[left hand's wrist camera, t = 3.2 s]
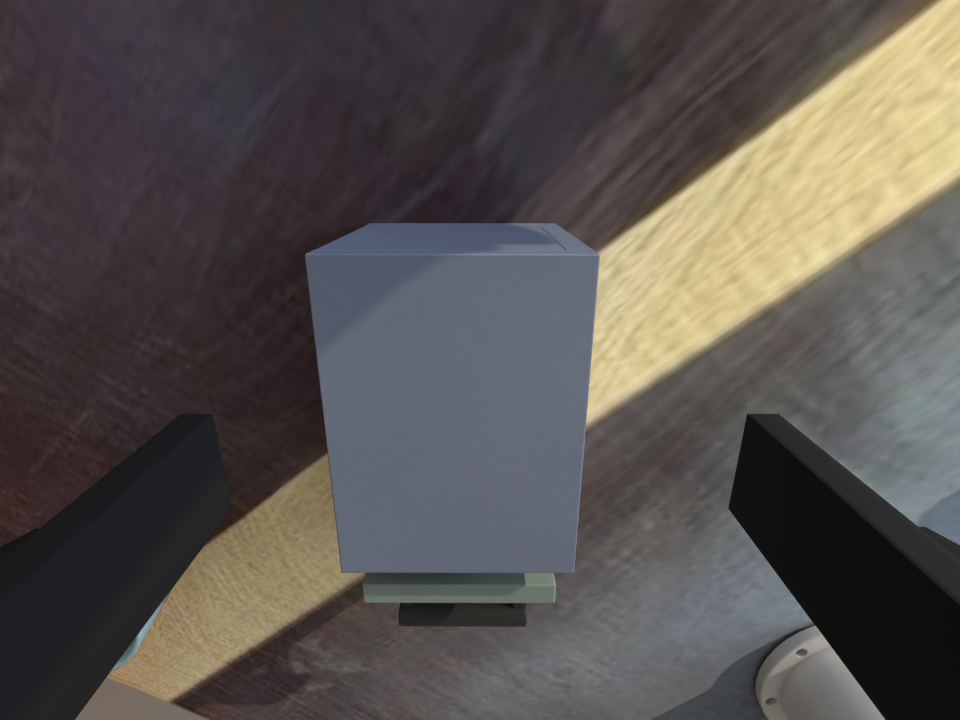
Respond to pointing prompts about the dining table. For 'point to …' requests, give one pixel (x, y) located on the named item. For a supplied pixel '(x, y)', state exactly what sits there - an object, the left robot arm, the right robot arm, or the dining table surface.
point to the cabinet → (455, 393)
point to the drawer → (460, 596)
